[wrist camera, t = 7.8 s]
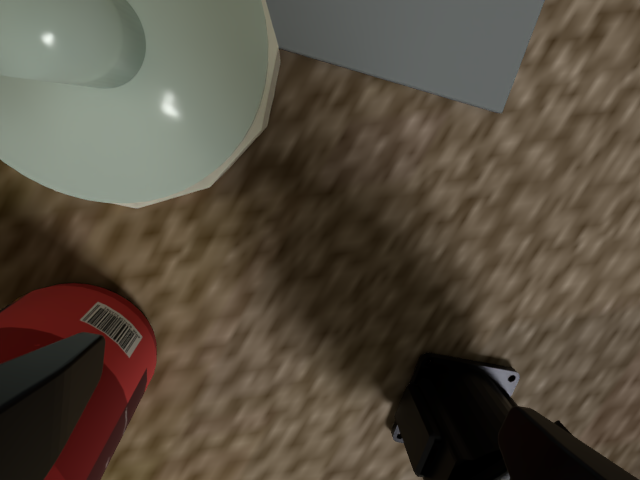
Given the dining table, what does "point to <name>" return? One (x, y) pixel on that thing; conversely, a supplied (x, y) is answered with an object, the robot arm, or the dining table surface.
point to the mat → (416, 41)
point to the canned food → (118, 366)
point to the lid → (128, 92)
